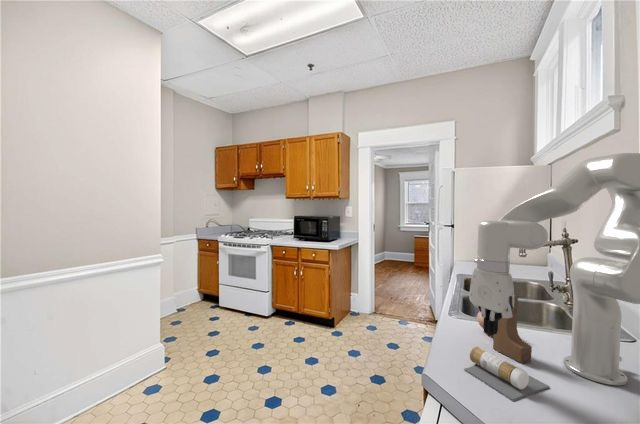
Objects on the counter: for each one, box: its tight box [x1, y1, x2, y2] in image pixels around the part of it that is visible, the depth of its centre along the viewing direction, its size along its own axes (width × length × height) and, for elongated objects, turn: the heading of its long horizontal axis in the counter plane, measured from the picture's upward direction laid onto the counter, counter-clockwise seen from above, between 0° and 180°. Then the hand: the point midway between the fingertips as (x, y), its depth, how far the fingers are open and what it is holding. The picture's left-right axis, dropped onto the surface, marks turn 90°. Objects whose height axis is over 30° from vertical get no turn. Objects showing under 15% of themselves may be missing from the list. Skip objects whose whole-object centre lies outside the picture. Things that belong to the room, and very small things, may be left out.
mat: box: [463, 364, 550, 402], centre depth 73 cm, size 14×13×1 cm
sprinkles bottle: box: [469, 346, 530, 390], centre depth 74 cm, size 5×5×13 cm
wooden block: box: [492, 294, 533, 364], centre depth 85 cm, size 9×4×18 cm, turn 20°
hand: (490, 333), depth 76 cm, fingers closed
